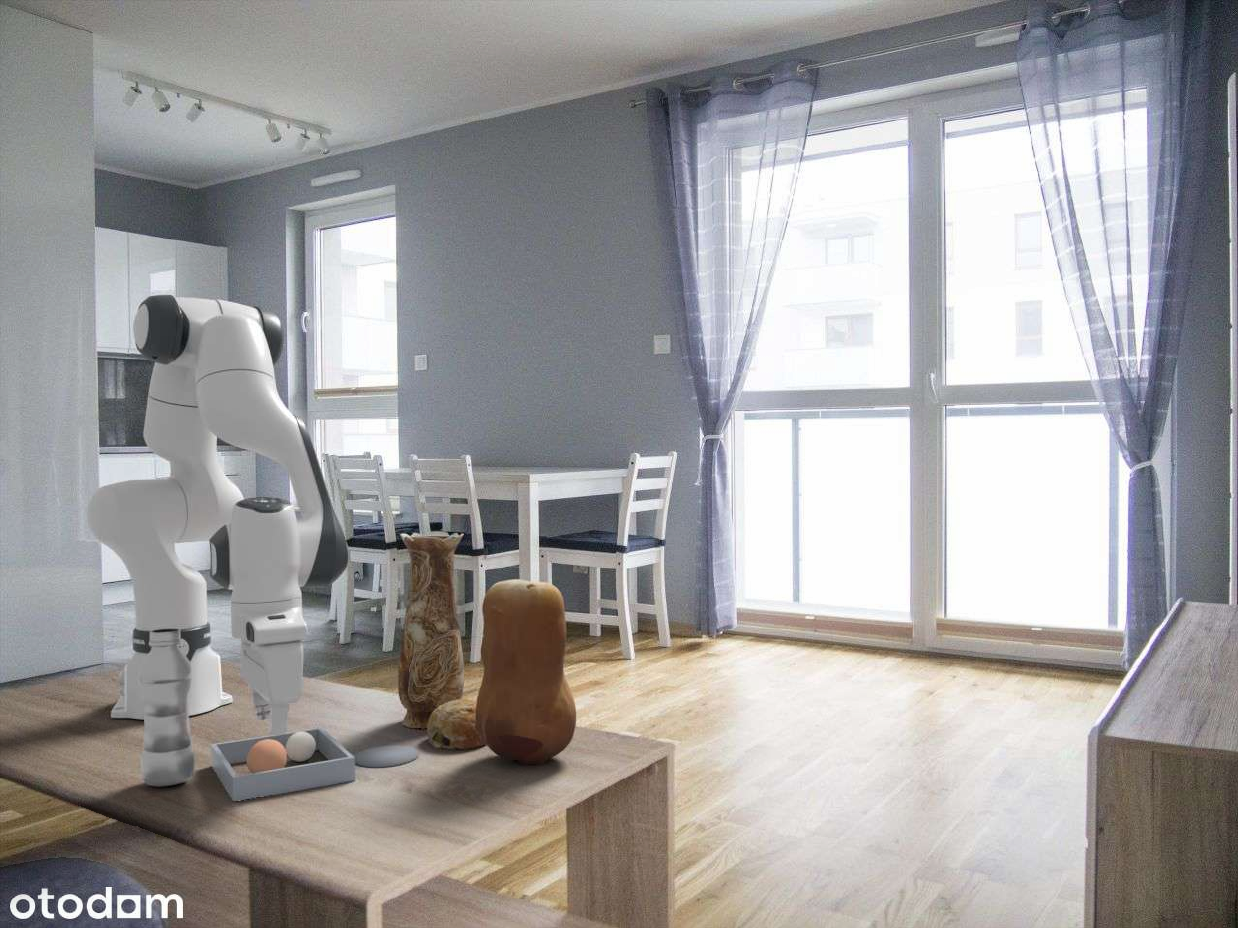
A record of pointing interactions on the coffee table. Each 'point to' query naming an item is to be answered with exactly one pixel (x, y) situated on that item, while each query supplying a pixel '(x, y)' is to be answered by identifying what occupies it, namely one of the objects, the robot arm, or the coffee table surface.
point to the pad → (385, 756)
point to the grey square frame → (282, 779)
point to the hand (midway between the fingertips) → (270, 726)
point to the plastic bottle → (166, 711)
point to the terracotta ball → (266, 756)
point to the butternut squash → (524, 673)
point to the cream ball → (300, 746)
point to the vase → (430, 629)
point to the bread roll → (454, 726)
